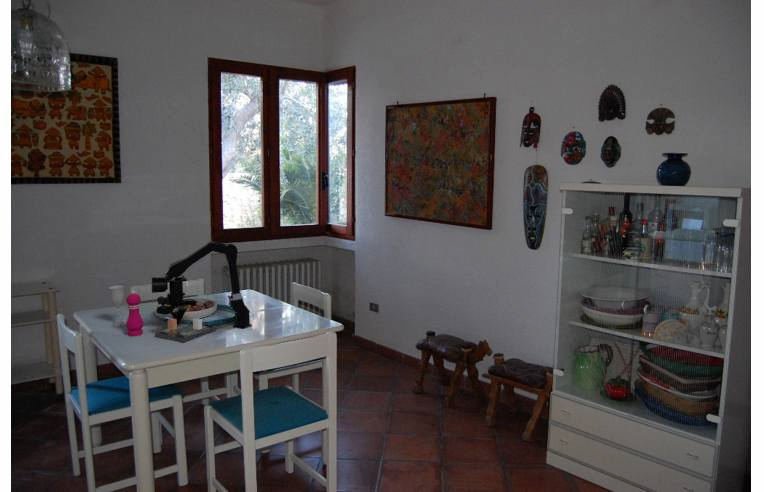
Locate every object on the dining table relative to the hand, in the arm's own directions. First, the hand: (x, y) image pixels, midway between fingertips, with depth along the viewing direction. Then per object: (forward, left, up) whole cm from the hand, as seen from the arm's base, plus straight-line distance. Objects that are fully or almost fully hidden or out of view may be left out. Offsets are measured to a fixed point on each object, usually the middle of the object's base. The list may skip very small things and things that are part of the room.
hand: (177, 324), depth 263 cm
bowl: (+20, -25, -4) cm, 33 cm away
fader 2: (-10, -2, -1) cm, 10 cm away
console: (-5, 0, -4) cm, 6 cm away
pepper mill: (+15, +11, -4) cm, 19 cm away
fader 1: (0, +3, -1) cm, 3 cm away
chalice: (+34, +4, -4) cm, 34 cm away
